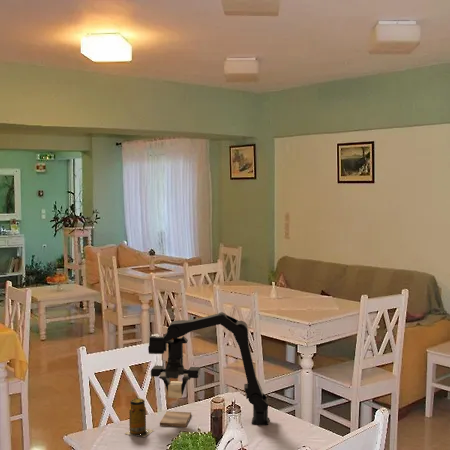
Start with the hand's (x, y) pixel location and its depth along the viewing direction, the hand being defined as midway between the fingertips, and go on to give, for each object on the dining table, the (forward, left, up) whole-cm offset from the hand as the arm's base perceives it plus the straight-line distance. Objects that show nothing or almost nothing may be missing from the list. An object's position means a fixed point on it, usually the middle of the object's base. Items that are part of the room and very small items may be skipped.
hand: (175, 393), depth 237 cm
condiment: (+13, -11, -11) cm, 20 cm away
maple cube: (0, 0, -1) cm, 1 cm away
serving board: (0, 0, -11) cm, 11 cm away
